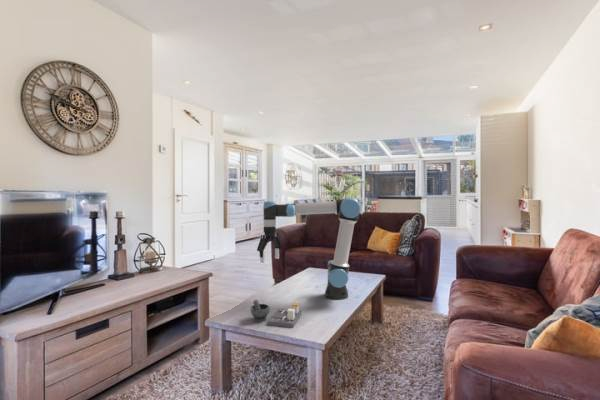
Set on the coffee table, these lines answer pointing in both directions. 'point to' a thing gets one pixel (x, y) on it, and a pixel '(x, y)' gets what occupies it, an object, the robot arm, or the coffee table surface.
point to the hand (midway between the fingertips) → (269, 260)
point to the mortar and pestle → (259, 311)
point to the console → (283, 319)
